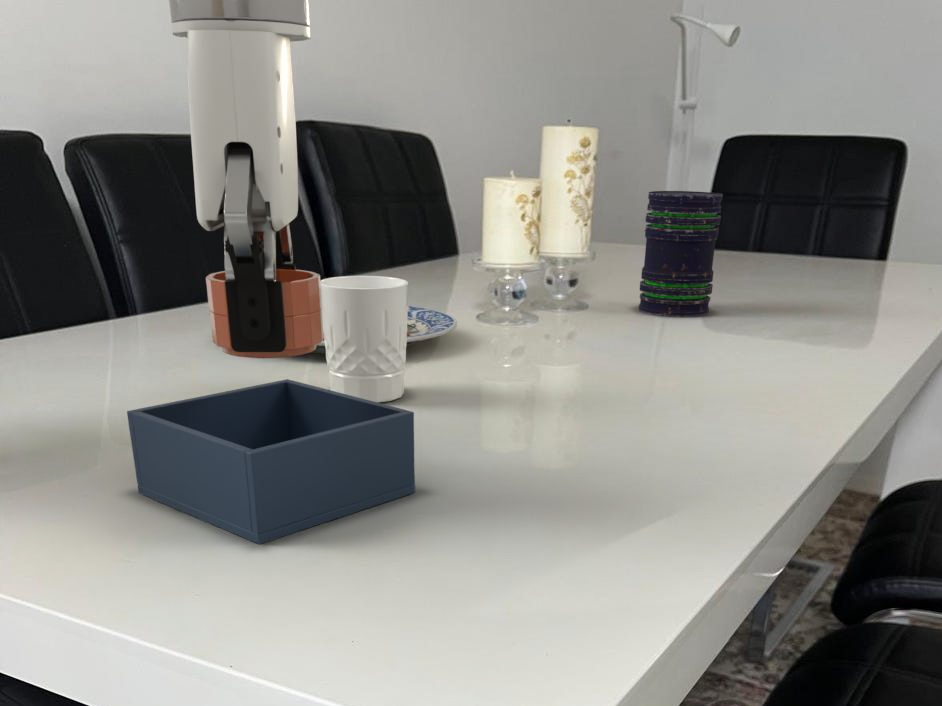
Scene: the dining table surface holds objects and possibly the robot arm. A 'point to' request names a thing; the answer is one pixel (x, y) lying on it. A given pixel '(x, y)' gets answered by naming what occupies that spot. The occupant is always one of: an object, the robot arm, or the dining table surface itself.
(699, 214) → the storage jar
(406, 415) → the bin
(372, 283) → the white cup
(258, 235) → the robot arm
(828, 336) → the dining table surface
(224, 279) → the bowl
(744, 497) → the dining table surface
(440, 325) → the ceramic plate
